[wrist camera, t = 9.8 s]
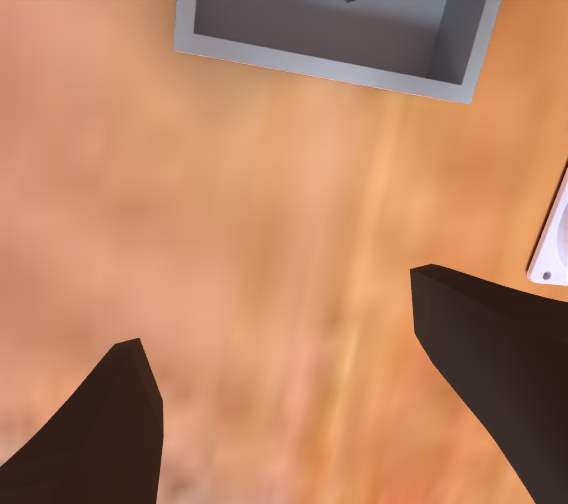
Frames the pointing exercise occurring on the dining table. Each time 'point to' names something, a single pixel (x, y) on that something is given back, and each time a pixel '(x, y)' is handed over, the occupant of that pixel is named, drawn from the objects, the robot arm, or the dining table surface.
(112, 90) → the dining table surface
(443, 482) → the dining table surface
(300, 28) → the bin
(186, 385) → the dining table surface
